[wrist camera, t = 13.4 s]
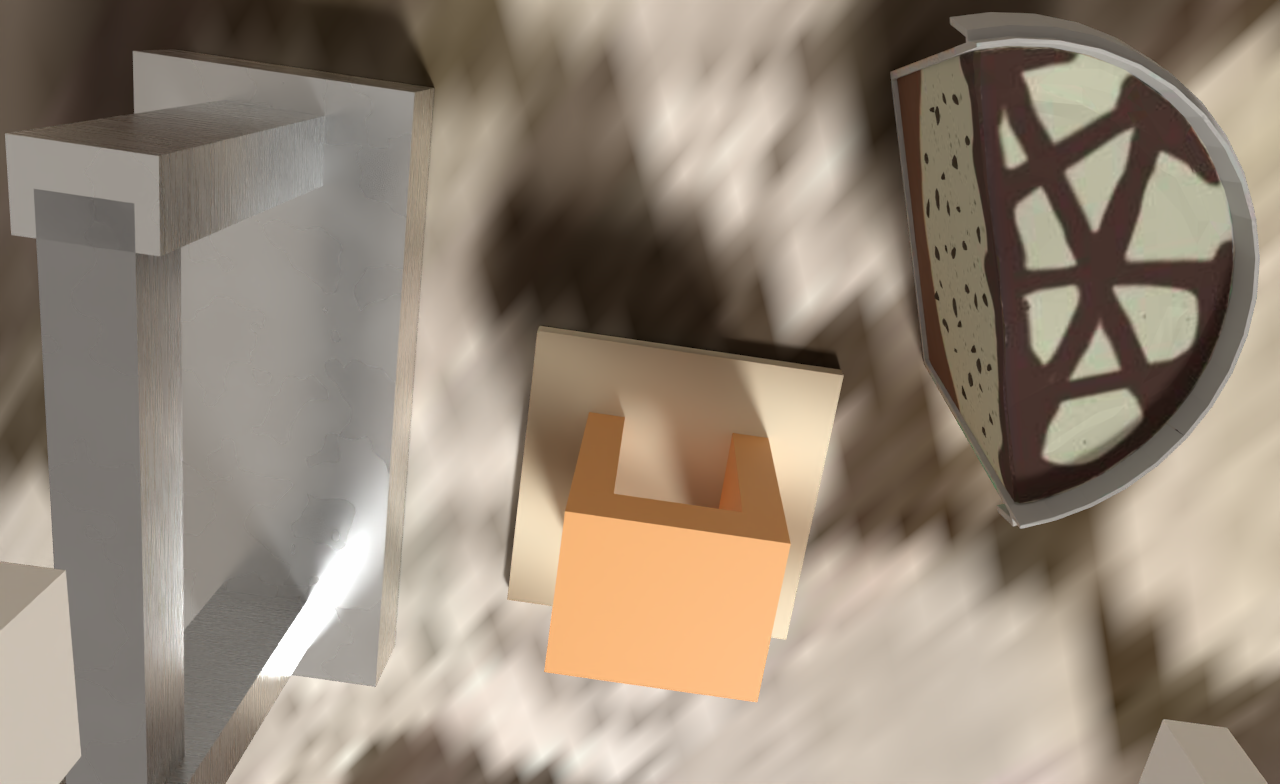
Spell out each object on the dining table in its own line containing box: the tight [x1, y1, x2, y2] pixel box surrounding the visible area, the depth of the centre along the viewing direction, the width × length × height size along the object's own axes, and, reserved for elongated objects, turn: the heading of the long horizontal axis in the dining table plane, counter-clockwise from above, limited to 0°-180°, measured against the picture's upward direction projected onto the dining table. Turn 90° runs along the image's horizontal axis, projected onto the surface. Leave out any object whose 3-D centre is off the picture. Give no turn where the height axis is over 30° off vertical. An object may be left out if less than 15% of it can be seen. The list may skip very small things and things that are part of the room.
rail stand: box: [5, 49, 434, 784], centre depth 29 cm, size 20×8×12 cm, turn 172°
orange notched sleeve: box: [544, 412, 791, 702], centre depth 32 cm, size 5×6×8 cm
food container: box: [890, 12, 1260, 529], centre depth 28 cm, size 12×6×10 cm, turn 11°
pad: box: [507, 326, 844, 639], centre depth 35 cm, size 10×10×1 cm
